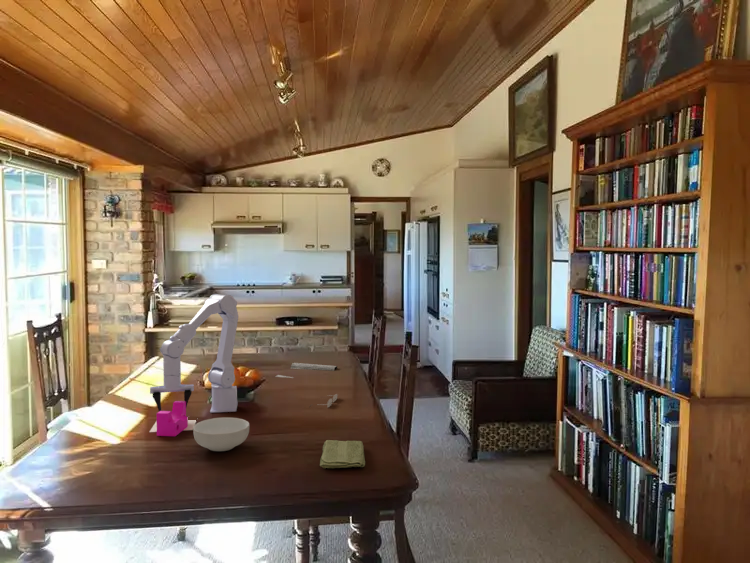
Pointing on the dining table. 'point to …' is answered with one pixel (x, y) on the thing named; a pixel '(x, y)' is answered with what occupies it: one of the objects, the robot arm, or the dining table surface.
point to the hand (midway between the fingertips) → (172, 411)
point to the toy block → (172, 420)
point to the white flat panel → (190, 427)
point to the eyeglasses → (330, 400)
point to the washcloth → (342, 454)
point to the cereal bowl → (221, 433)
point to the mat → (310, 367)
